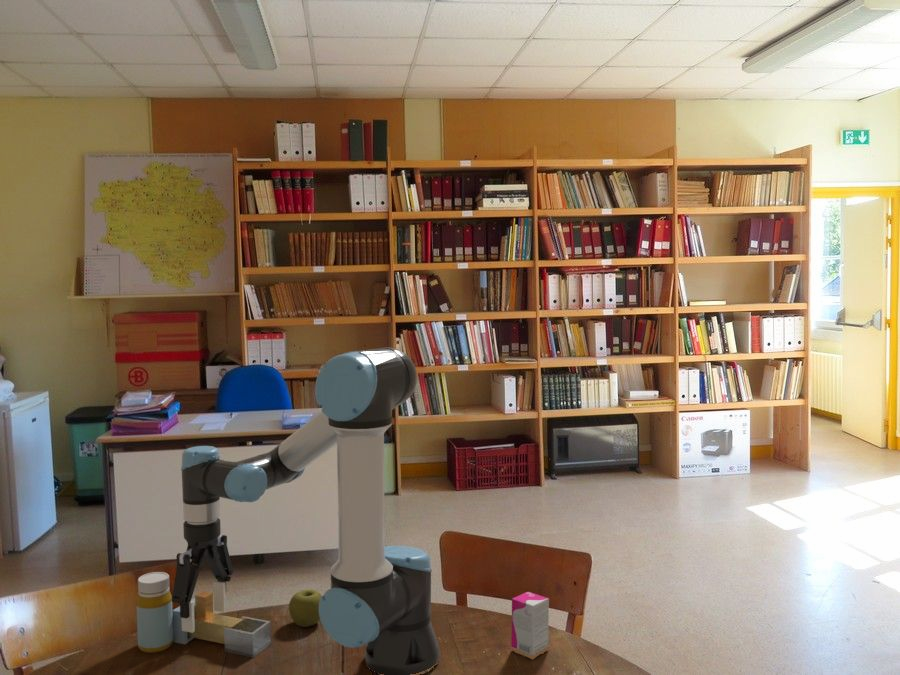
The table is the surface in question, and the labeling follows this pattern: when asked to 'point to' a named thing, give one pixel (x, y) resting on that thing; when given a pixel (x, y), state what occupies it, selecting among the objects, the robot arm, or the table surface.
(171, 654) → the table surface
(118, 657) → the table surface
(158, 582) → the bottle
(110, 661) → the table surface
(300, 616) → the apple
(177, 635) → the socket block
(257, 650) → the sleeve
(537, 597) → the supplement box
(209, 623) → the yellow orange l-shaped block
